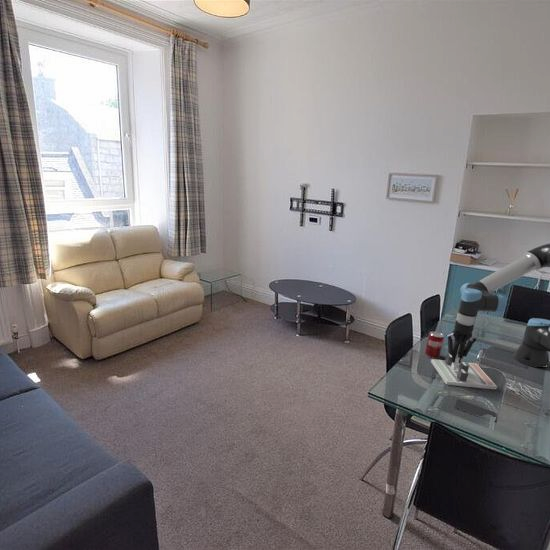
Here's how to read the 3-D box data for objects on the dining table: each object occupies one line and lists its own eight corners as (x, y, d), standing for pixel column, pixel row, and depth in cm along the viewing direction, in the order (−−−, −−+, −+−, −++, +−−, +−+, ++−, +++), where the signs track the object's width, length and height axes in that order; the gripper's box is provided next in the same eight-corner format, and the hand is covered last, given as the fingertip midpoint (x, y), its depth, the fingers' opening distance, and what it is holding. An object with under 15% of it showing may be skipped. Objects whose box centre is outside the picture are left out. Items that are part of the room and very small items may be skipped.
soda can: (440, 360, 187) (446, 338, 184) (425, 357, 188) (430, 336, 185) (437, 353, 194) (442, 332, 190) (423, 351, 195) (427, 330, 192)
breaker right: (463, 377, 169) (465, 369, 168) (466, 381, 166) (468, 373, 165) (456, 377, 169) (458, 369, 168) (459, 380, 166) (461, 372, 165)
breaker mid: (464, 370, 176) (466, 362, 174) (467, 373, 173) (469, 365, 171) (458, 369, 176) (460, 362, 174) (460, 373, 173) (462, 365, 172)
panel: (475, 366, 184) (476, 362, 183) (496, 389, 165) (497, 385, 164) (430, 361, 185) (431, 358, 184) (446, 384, 165) (447, 380, 165)
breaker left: (451, 362, 182) (452, 354, 181) (453, 365, 179) (455, 357, 178) (444, 361, 182) (446, 353, 181) (447, 364, 180) (449, 357, 178)
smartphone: (496, 422, 142) (454, 406, 149) (495, 424, 142) (453, 408, 149) (496, 412, 148) (456, 397, 155) (496, 414, 148) (455, 399, 155)
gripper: (475, 320, 171) (464, 365, 177) (447, 317, 171) (436, 363, 178) (483, 327, 163) (471, 374, 170) (453, 324, 164) (442, 371, 171)
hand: (453, 368), depth 174 cm, fingers closed
